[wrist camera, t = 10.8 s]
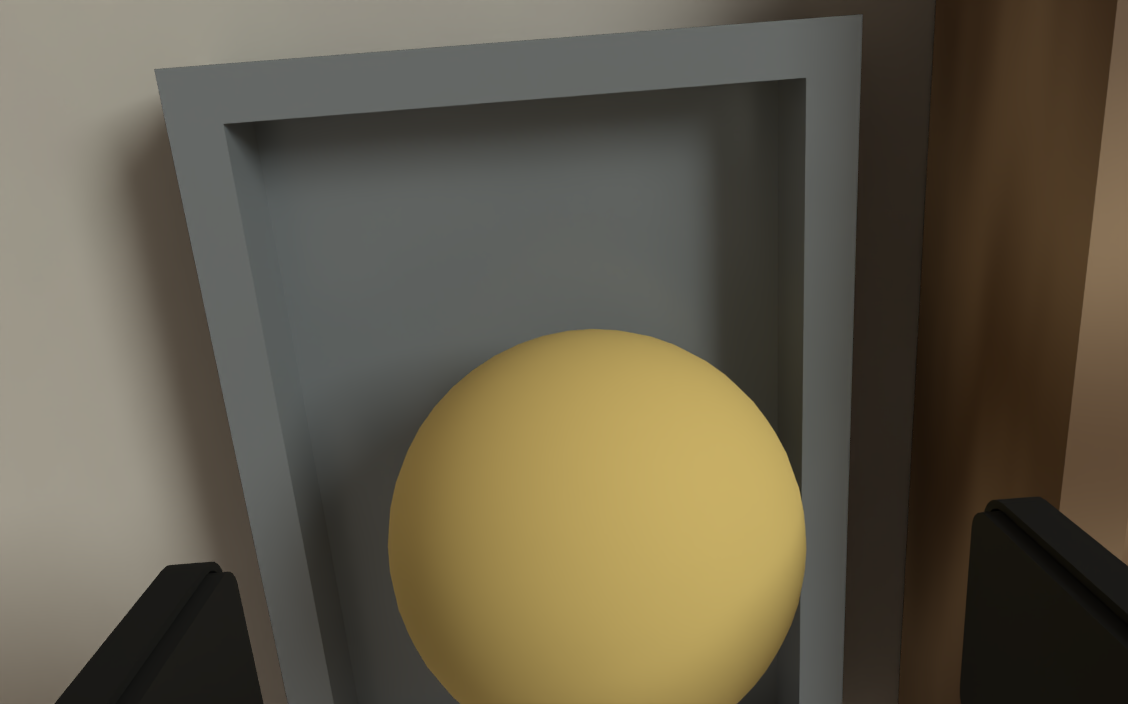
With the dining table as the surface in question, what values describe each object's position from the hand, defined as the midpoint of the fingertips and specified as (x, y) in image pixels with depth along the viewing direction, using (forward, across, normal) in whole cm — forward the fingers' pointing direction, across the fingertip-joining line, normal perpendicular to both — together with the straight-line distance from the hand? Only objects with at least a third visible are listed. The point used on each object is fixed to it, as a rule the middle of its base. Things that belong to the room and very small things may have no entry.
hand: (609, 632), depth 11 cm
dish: (+6, +1, 0) cm, 6 cm away
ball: (+5, +1, 0) cm, 5 cm away
